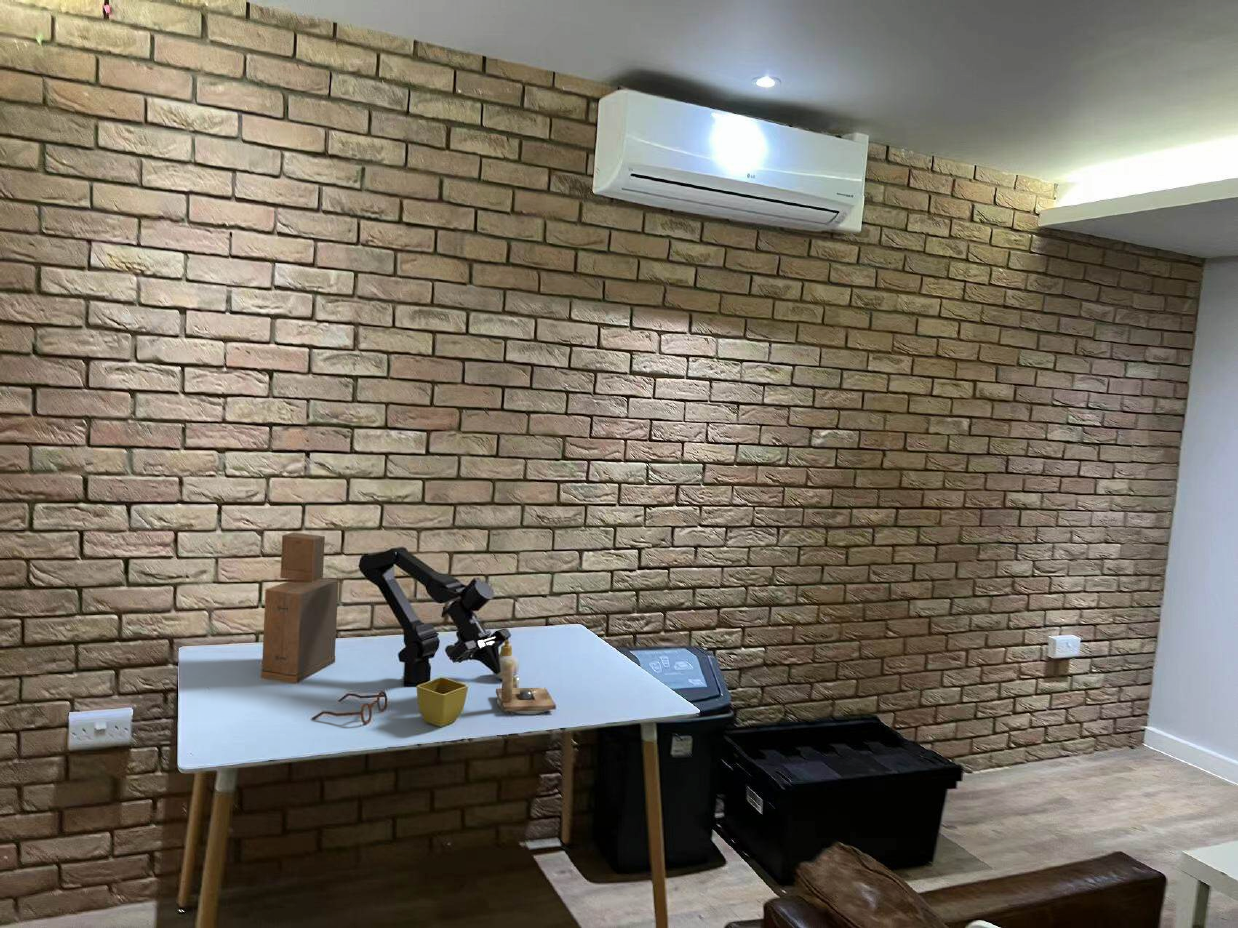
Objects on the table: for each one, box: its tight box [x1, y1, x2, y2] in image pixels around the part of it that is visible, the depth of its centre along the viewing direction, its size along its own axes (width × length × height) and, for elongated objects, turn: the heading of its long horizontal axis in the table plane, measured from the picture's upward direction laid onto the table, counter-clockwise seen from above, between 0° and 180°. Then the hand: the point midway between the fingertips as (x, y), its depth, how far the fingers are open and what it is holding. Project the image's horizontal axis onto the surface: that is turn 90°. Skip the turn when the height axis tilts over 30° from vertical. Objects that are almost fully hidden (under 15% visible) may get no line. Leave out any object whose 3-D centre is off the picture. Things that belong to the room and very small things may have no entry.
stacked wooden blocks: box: [260, 532, 340, 684], centre depth 237 cm, size 19×14×35 cm
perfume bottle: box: [488, 633, 520, 680], centre depth 243 cm, size 8×10×12 cm
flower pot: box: [416, 676, 469, 728], centre depth 209 cm, size 9×9×9 cm
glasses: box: [311, 690, 388, 725], centre depth 211 cm, size 13×13×5 cm
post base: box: [496, 676, 550, 716], centre depth 226 cm, size 14×17×4 cm
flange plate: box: [495, 660, 557, 712], centre depth 224 cm, size 13×13×11 cm
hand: (498, 673), depth 222 cm, fingers closed
